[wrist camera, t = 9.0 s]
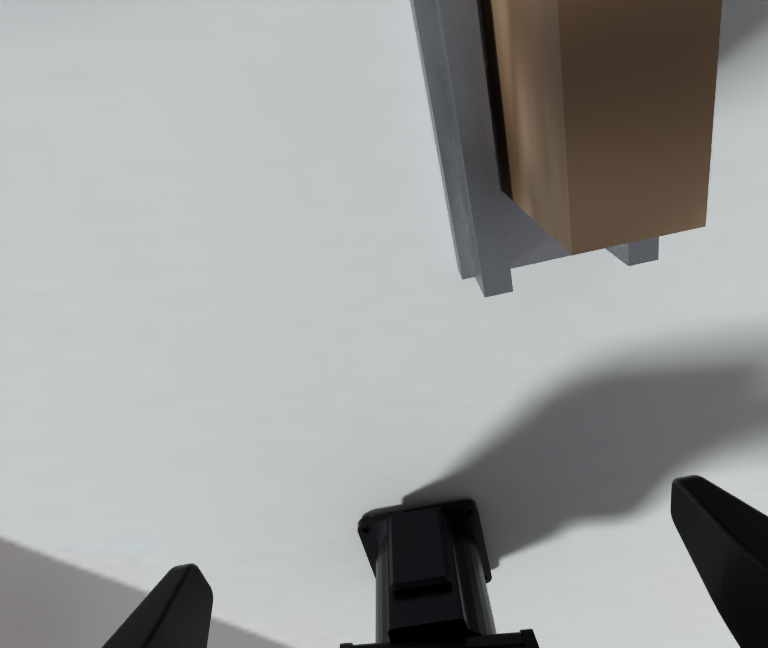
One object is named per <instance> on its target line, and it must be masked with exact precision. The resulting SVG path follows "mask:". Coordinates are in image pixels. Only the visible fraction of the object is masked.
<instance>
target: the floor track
mask: <svg viewBox="0 0 768 648" xmlns="http://www.w3.org/2000/svg"><path fill="white" fill-rule="evenodd" d="M410 1H411V6H412V12H413V18H414V23H415V29H416V35H417V40H418V46H419V51H420V57H421V63H422V68H423V74H424V79H425V85H426V91H427V96H428V102H429V108H430V113H431V119H432V124H433V130H434V136H435V141H436V147H437V152H438V158H439V164H440V169H441V175H442V181H443V186H444V192H445V197H446V203H447V209H448V214H449V220H450V225H451V231H452V237H453V242H454V248H455V253H456V259H457V265H458V270H459V273H460V275H461V278H462V279H466V278H471V277H475V278H476V280H477V282H478V284H479V286H480V288H481V290H482V292H483V294H484V296H485V297H489V296H493V295H498V294H502V293H507V292H512V291H513V287H512V279H511V271H510V269H511V268H516V267H520V266H525V265H529V264H534V263H538V262H543V261H547V260H552V259H556V258H561V257H565V256H570V255H571V254H570V253H569V252H568V251H567V250H566V249H565V248H564V247H563V246H561V245H560V244H559V243H558V242H557V241H556V240H555V239H554V238H553V237H552V236H551V235H549V234H548V233H547V232H546V231H545V230H544V229H543V228H542V227H541V226H540V225H539V224H537V223H536V222H535V221H534V220H533V219H532V218H531V217H530V216H529V215H528V214H527V213H525V212H524V211H523V210H522V209H521V208H520V207H519V206H518V205H517V204H516V203H515V202H513V201H512V200H511V199H510V198H509V197H508V196H507V195H506V194H505V193H504V192H503V189H502V180H501V172H500V163H499V155H498V146H497V138H496V129H495V121H494V112H493V104H492V95H491V87H490V78H489V70H488V61H487V52H486V44H485V35H484V27H483V18H482V10H481V1H480V0H410ZM658 246H659V236H658V237H654V238H649V239H645V240H640V241H635V242H631V243H626V244H621V245H617V246H612V247H608V248H605V249H607V250H608V251H609V252H611V253H612V254H613V255H615V256H616V257H617V258H619V259H620V260H621V261H623V262H624V263H625V264H627V265H628V266H631V265H635V264H640V263H645V262H649V261H654V260H658Z"/></svg>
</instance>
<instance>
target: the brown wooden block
mask: <svg viewBox="0 0 768 648" xmlns="http://www.w3.org/2000/svg"><path fill="white" fill-rule="evenodd" d="M480 1H481V10H482V18H483V27H484V35H485V44H486V52H487V61H488V70H489V78H490V87H491V95H492V104H493V112H494V121H495V129H496V138H497V146H498V155H499V163H500V172H501V180H502V189H503V192H504V193H505V194H506V195H507V196H508V197H509V198H510V199H511V200H512V201H513V202H515V203H516V204H517V205H518V206H519V207H520V208H521V209H522V210H523V211H524V212H525V213H527V214H528V215H529V216H530V217H531V218H532V219H533V220H534V221H535V222H536V223H537V224H539V225H540V226H541V227H542V228H543V229H544V230H545V231H546V232H547V233H548V234H549V235H551V236H552V237H553V238H554V239H555V240H556V241H557V242H558V243H559V244H560V245H561V246H563V247H564V248H565V249H566V250H567V251H568V252H569V253H570V254H571V255H575V254H580V253H585V252H589V251H594V250H598V249H603V248H608V247H612V246H617V245H621V244H626V243H631V242H635V241H640V240H645V239H649V238H654V237H658V236H663V235H668V234H672V233H677V232H681V231H686V230H691V229H695V228H700V227H705V225H706V211H707V197H708V184H709V170H710V157H711V143H712V129H713V116H714V102H715V89H716V75H717V61H718V48H719V34H720V20H721V7H722V0H480Z"/></svg>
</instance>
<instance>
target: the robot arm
mask: <svg viewBox="0 0 768 648" xmlns="http://www.w3.org/2000/svg"><path fill="white" fill-rule="evenodd" d="M466 509H468V510H466ZM671 516H672V519H673V522H674V524H675V526H676V528H677V530H678V532H679V534H680V536H681V538H682V540H683V542H684V544H685V546H686V548H687V550H688V552H689V554H690V556H691V558H692V560H693V562H694V564H695V566H696V568H697V570H698V572H699V574H700V576H701V578H702V580H703V582H704V584H705V586H706V588H707V590H708V592H709V595H710V597H711V598H712V600H713V602H714V604H715V606H716V608H717V610H718V612H719V613H720V615H721V617H722V618H723V620H724V622H725V623H726V625H727V627H728V628H729V630H730V632H731V633H732V635H733V636H734V638H735V640H736V641H737V643H738V644H739V646H740V648H768V516H766V515H765V514H763V513H761V512H760V511H758V510H756V509H755V508H753V507H751V506H750V505H748V504H746V503H745V502H743V501H741V500H740V499H738V498H736V497H735V496H733V495H731V494H730V493H728V492H726V491H725V490H723V489H721V488H720V487H718V486H716V485H715V484H713V483H711V482H710V481H708V480H706V479H705V478H703V477H701V476H698V475H691V476H686V477H680V478H676V479H674V480H673V482H672V490H671ZM358 533H359V536H360V538H361V541H362V544H363V546H364V549H365V552H366V554H367V557H368V560H369V562H370V565H371V568H372V570H373V573H374V575H375V578H376V643H372V644H359V645H353V643H342V644H340V648H539V646H538V643H537V640H536V638H535V635H534V632H533V630H532V629H525V630H520V632H516V633H503V634H496V629H495V625H494V620H493V615H492V610H491V606H490V601H489V596H488V592H487V587H486V583H488V582H490V581H491V579H492V576H491V571H490V566H489V562H488V557H487V552H486V547H485V543H484V538H483V533H482V528H481V523H480V519H479V514H478V509H477V505H476V503H475V502H474V501H473V500H461V501H456V502H450V503H444V504H439V505H433V506H428V507H422V508H416V509H411V510H405V511H400V512H394V513H388V514H383V515H377V516H372V517H366V518H363V519H361V520H359V522H358ZM212 605H213V593H212V589H211V587H210V585H209V584H208V582H207V581H206V579H205V577H204V576H203V574H202V573H201V571H200V569H199V568H198V566H197V565H195V564H185V565H179V566H175V567H173V568H172V569H171V570H170V571H169V572H168V573H167V574H166V575H165V576H164V577H163V578H162V580H161V581H160V582H159V583H158V584H157V585H156V586H155V588H154V589H153V590H152V591H151V592H150V593H149V594H148V595H147V597H146V598H145V599H144V600H143V601H142V602H141V603H140V605H139V606H138V607H137V608H136V609H135V610H134V611H133V613H132V614H131V615H130V616H129V617H128V618H127V619H126V621H125V622H124V623H123V624H122V625H121V626H120V627H119V628H118V630H117V631H116V632H115V633H114V634H113V635H112V636H111V637H110V639H109V640H108V641H107V642H106V643H105V644H104V646H103V647H102V648H207V641H208V633H209V627H210V619H211V612H212Z"/></svg>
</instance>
